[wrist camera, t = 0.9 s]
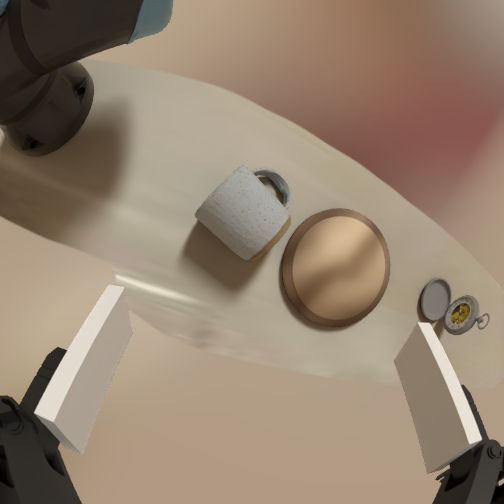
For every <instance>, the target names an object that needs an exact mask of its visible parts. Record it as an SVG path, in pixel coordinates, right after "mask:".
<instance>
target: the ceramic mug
mask: <svg viewBox="0 0 504 504" xmlns="http://www.w3.org/2000/svg"><path fill="white" fill-rule="evenodd" d="M257 175H263V176H266V177H268V178H270V179H271V180H272V181H273V182H274V183H275V185H276V186H277V187H278V188H279V190H280V192H281V193H282V194H283V205H282V204H281V203H280V202H279V200H278V199H276V198H275V197H274V196H273V195H272V194H271V193H270V191H269V190H268V189H267V188H266V187H265V186H264V185H263V184H262V182H261V181H260V180H259V179H258V178H257V177H256V176H257ZM291 199H292V195H291V190H290V187H289V185H288V183H287V181H286V180H285V179H284V178H283V177H282V176H281V175H280V174H279V173H278V172H276V171H275V170H273V169H269V168H260V169H256V170H253V171H250V170H249V169H248V168H247V167H246V166H245V165H243V166H241V167H239V168H238V169H237V170H236V171H235V172H233V173H232V174H231V175H230V176H229V177H228V178H227V179H226V180H225V181H224V182H223V183H221V185H220V186H218V188H217V189H216V190H215V191H214V192H213V193H212V194H211V195H210V196H209V197H208V198H207V199H206V200H205V201H204V202H203V204H202V205H201V206H200V208H199V209H198V210H197V212H196V214H195V217H196V218H197V219H198V220H199V221H200V222H201V223H202V224H204V225H205V226H206V227H207V228H208V229H209V230H210V231H211V232H212V233H213V234H214V235H215V236H217V237H218V238H219V239H220V240H221V241H222V242H223V243H224V244H225V245H227V246H228V247H229V248H230V249H231V250H232V251H233V252H234V253H235V254H236V255H238V256H239V257H241V258H242V259H244V260H246V261H255V260H257V259H259V258H260V257H262V256H263V255H264V254H265V253H267V252H268V251H269V250H270V249H271V248H272V247H273V246H274V245H275V244H276V243H277V242H278V241H279V240H280V238H281V237H282V236H283V235H284V233H285V232H286V231H287V229H288V228H289V226H290V223H291V218H290V215H289V213H288V212H287V208H288V207H289V205H290V203H291Z"/></svg>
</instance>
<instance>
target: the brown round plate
mask: <svg viewBox="0 0 504 504" xmlns="http://www.w3.org/2000/svg"><path fill="white" fill-rule="evenodd" d="M389 275H390V256H389V250H388V247H387V244H386V241H385V239H384V237H383V235H382V233H381V232H380V230H379V229H378V228H377V226H376V225H375V224H374V223H373V222H372V221H371V220H369V219H368V218H367V217H365V216H364V215H362V214H360V213H358V212H355V211H353V210H348V209H340V208H339V209H330V210H325V211H322V212H319V213H317V214H315V215H313V216H311V217H309V218H308V219H306V220H305V221H304V222H303V223H302V224H301V225H300V226H298V228H297V229H296V230H295V231H294V233H293V234H292V236H291V238H290V239H289V241H288V244H287V246H286V248H285V252H284V255H283V262H282V277H283V283H284V287H285V290H286V293H287V295H288V297H289V299H290V301H291V302H292V304H293V305H294V307H295V308H296V309H297V310H298V311H299V312H300V313H301V314H303V315H304V316H305V317H306V318H308V319H309V320H311V321H313V322H315V323H317V324H320V325H324V326H329V327H341V326H346V325H350V324H352V323H355V322H357V321H359V320H361V319H362V318H364V317H365V316H367V315H368V314H369V313H370V312H371V311H372V310H373V309H374V308H375V307H376V306H377V304H378V303H379V301H380V300H381V298H382V296H383V295H384V292H385V290H386V287H387V284H388V281H389Z"/></svg>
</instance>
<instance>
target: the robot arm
mask: <svg viewBox="0 0 504 504" xmlns="http://www.w3.org/2000/svg"><path fill="white" fill-rule="evenodd" d="M172 8H173V0H0V128H1V129H2V131H3V133H4V134H5V136H6V137H7V139H8V141H9V142H10V144H11V145H12V146H13V147H14V148H15V149H17V150H18V151H20V152H22V153H24V154H26V155H30V156H41V155H45V154H48V153H50V152H52V151H54V150H56V149H58V148H59V147H61V146H62V145H63V144H65V143H66V142H67V141H68V140H69V139H70V138H71V137H72V136H73V135H74V134H75V133H76V132H77V130H78V129H79V128H80V126H81V125H82V123H83V122H84V120H85V118H86V117H87V115H88V112H89V110H90V108H91V105H92V101H93V96H94V85H93V81H92V78H91V76H90V75H89V73H88V72H87V70H86V69H85V68H84V66H82V65H81V64H80V63H79V62H77V61H78V60H80V59H83V58H85V57H88V56H90V55H93V54H96V53H99V52H101V51H104V50H107V49H110V48H113V47H116V46H119V45H122V44H130V43H132V42H133V41H134V40H137V39H140V38H143V37H146V36H150V35H153V34H156V33H158V32H160V31H162V30H163V29H164V28H165V27H166V26H167V24H168V23H169V21H170V19H171V15H172ZM131 335H132V328H131V322H130V317H129V311H128V305H127V298H126V292H125V288H124V287H119V286H114V285H109V286H108V287H107V289H106V290H105V291H104V293H103V295H102V296H101V298H100V299H99V300H98V302H97V303H96V305H95V307H94V308H93V310H92V311H91V313H90V314H89V316H88V317H87V319H86V321H85V322H84V324H83V325H82V327H81V329H80V331H79V332H78V334H77V335H76V337H75V339H74V340H73V342H72V343H71V345H70V347H69V349H68V350H65V349H62V348H59V347H57V348H56V349H55V350H53V351H52V352H51V353H49V354H48V355H47V357H46V359H45V360H44V362H43V364H42V367H40V369H39V370H38V372H37V375H36V376H35V377H34V379H33V381H32V383H31V385H30V386H29V388H28V390H27V392H26V394H25V396H24V397H23V399H22V401H21V403H20V405H18V403H17V402H16V401H15V400H14V399H13V398H12V397H9V396H0V504H82V503H81V501H80V499H79V497H78V495H77V493H76V491H75V488H74V486H73V484H72V482H71V479H70V477H69V475H68V472H67V470H66V467H65V465H64V462H63V459H62V457H61V454H60V451H59V450H58V446H59V443H61V444H62V445H63V446H64V447H65V448H67V449H69V450H72V451H74V452H76V453H79V454H81V455H83V454H84V451H85V448H86V445H87V442H88V440H89V437H90V434H91V432H92V429H93V426H94V424H95V421H96V418H97V416H98V413H99V410H100V408H101V405H102V403H103V400H104V398H105V395H106V393H107V390H108V388H109V386H110V383H111V381H112V379H113V376H114V374H115V371H116V369H117V367H118V365H119V362H120V360H121V358H122V355H123V353H124V351H125V349H126V346H127V344H128V342H129V340H130V338H131ZM394 363H395V366H396V369H397V372H398V374H399V377H400V380H401V383H402V386H403V389H404V392H405V395H406V398H407V401H408V404H409V408H410V411H411V414H412V417H413V421H414V424H415V428H416V432H417V435H418V438H419V443H420V446H421V450H422V454H423V458H424V462H425V466H426V470H427V474H428V473H432V472H435V471H439V470H441V469H443V468H444V467H446V466H447V465H450V468H449V469H448V470H446V471H445V472H443V473H442V474H440V475H439V476H438V477H437V478H436V480H439V479H440V478H442V477H444V478H443V479H442V480H440V482H441V483H442V484H441V486H440V488H439V491H438V493H437V495H436V497H435V499H434V501H433V503H432V504H504V484H502V485H500V486H499V484H498V482H499V481H500V480H502V479H503V478H504V447H501V446H500V444H499V443H498V442H497V441H496V440H489V438H488V436H487V433H486V430H485V428H484V425H483V423H482V420H481V418H480V415H479V413H478V412H477V408H476V405H475V404H474V401H473V398H472V396H471V394H470V392H469V391H468V390H467V388H466V387H465V386H464V385H460V383H459V381H458V379H457V376H456V374H455V372H454V370H453V368H452V366H451V364H450V362H449V359H448V357H447V355H446V353H445V351H444V349H443V347H442V345H441V344H440V342H439V340H438V338H437V336H436V334H435V332H434V330H433V328H432V326H431V325H430V323H419V322H418V323H417V325H416V326H415V328H414V330H413V331H412V333H411V335H410V336H409V338H408V340H407V341H406V343H405V344H404V346H403V348H402V349H401V351H400V352H399V354H398V355H397V357H396V358H395V360H394Z"/></svg>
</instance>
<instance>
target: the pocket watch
mask: <svg viewBox="0 0 504 504" xmlns="http://www.w3.org/2000/svg"><path fill="white" fill-rule="evenodd" d="M450 303H451V289H450V286H449V284H448V282H447V281H446V280H445V279H442V278H435V279H433V280H431V281H430V282H429V283H428V284H427V285H426V287H425V289H424V291H423V294H422V298H421V309H422V312H423V314H424V316H425V317H426V318H428V319H429V320H438V319H440V318H441V317H443V316H444V327H445V329H446V330H447V331H448V332H449V333H450V334H453V335H460V334H463V333H465V332H467V331H468V330H469V329H471V328H472V327H473V325H474V324H475V322H476V321H477V323H478V328H479V329H484V328H485V327H486V326H487V325H488V323H489V319H490V316H489V314H488V313H485V314H483V315H482V316H480V317H479V318H478V316H479V304H478V302H477V300H476V299H475V298H474V297H472V296H469V295H466V296H462V297H460V298H458V299H457V300H455V301H454V302H453V303H452V304H451V305H450ZM461 308H462V309H461ZM459 309H461V310H462V311H461V313H460V310H459ZM485 315H487V316H488V322H487V324H486V325H485V326H484V327H482V328H480V326H479V324H480V323H481V322H483V321H484V319H483V316H485ZM456 317H457V319H455V318H456ZM460 319H461V320H460ZM454 320H455V321H454ZM457 320H458V322H456V321H457ZM455 322H456V323H457V324H454V323H455ZM460 322H461V324H460Z"/></svg>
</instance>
